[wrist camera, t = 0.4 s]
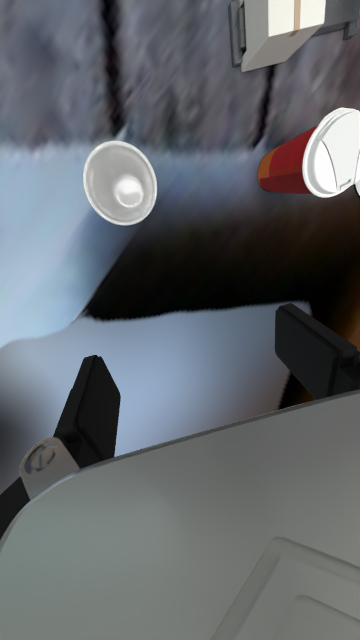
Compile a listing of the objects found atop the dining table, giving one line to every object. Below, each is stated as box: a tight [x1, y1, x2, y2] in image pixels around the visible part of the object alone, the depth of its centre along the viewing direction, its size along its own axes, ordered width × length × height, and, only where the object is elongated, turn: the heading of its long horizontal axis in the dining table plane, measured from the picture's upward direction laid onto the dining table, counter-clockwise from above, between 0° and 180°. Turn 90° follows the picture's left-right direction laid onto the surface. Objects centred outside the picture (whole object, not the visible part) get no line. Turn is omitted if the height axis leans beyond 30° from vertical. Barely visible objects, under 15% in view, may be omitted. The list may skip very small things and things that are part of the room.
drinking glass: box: [83, 141, 157, 225], centre depth 26 cm, size 7×7×15 cm
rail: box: [228, 0, 360, 67], centre depth 26 cm, size 5×16×2 cm, turn 103°
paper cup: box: [258, 108, 360, 197], centre depth 28 cm, size 8×8×14 cm
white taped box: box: [239, 0, 326, 72], centre depth 24 cm, size 6×6×7 cm
